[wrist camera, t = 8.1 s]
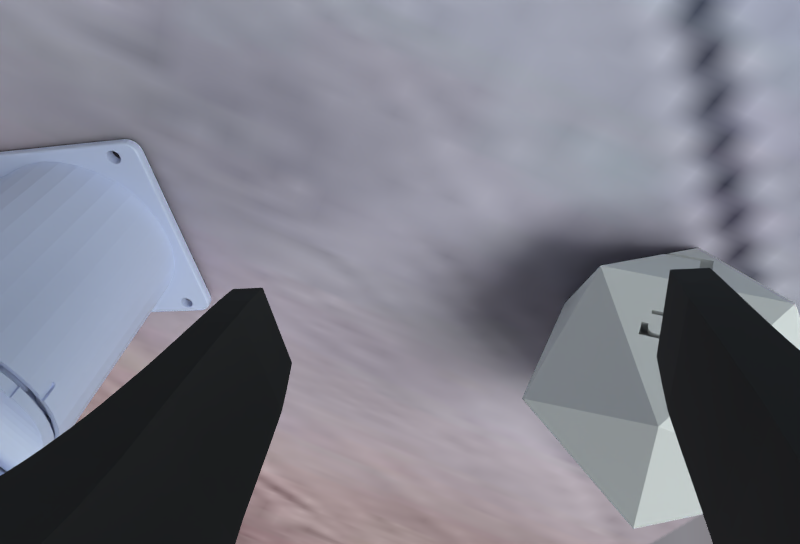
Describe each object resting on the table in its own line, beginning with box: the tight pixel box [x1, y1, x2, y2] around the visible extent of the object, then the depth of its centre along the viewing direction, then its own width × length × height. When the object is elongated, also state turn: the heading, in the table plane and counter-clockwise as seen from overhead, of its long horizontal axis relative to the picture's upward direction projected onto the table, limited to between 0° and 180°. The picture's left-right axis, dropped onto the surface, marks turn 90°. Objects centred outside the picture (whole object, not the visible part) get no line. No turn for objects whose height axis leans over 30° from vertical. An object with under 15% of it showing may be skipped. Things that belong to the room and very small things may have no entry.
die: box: [522, 248, 800, 529], centre depth 20 cm, size 8×9×10 cm
